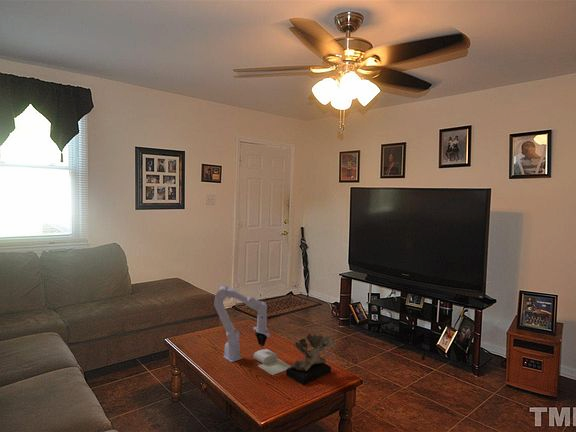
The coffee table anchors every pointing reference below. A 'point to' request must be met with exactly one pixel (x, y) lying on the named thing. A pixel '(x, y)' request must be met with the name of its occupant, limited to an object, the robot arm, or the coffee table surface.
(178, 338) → the coffee table surface
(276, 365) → the mat
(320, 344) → the coral
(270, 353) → the photo printer
